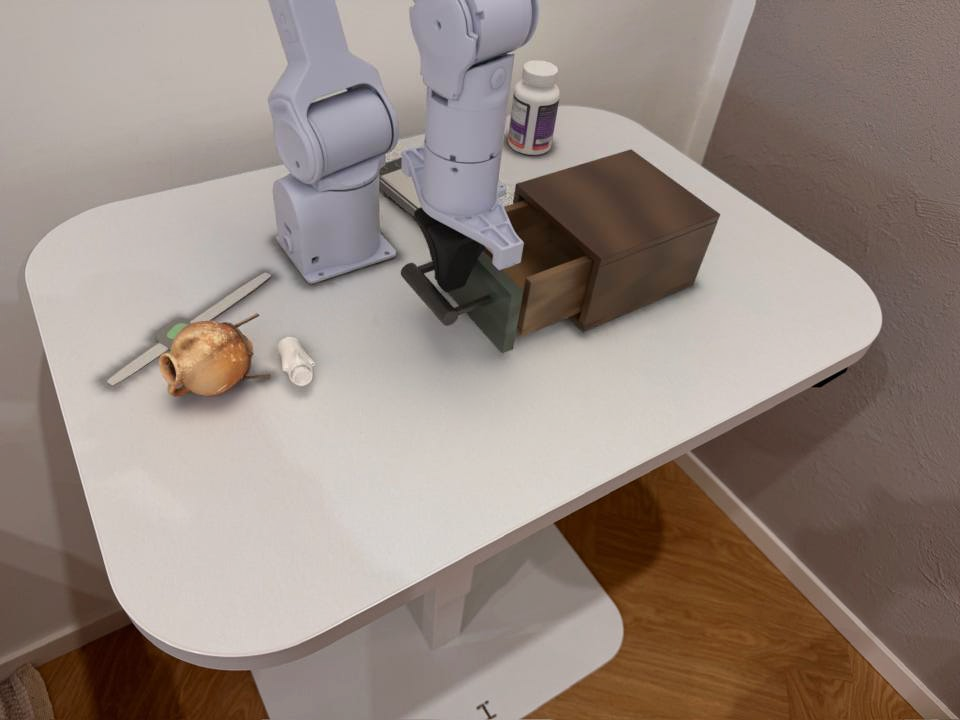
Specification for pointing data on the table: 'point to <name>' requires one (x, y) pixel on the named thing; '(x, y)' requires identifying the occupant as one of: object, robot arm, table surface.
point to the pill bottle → (534, 108)
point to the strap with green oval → (172, 329)
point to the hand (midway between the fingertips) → (451, 284)
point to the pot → (208, 358)
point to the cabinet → (625, 230)
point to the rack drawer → (514, 283)
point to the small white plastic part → (295, 361)
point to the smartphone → (398, 186)
